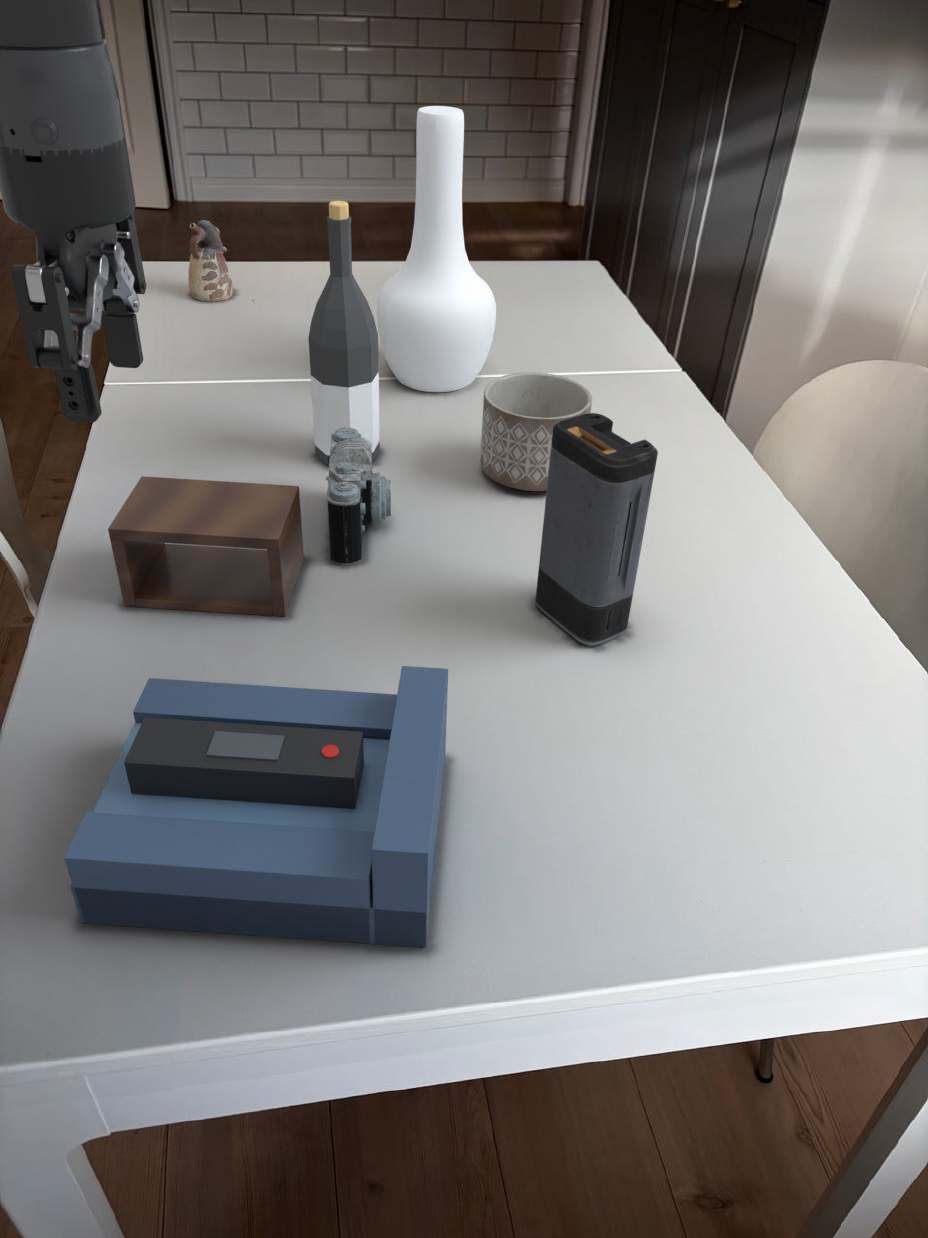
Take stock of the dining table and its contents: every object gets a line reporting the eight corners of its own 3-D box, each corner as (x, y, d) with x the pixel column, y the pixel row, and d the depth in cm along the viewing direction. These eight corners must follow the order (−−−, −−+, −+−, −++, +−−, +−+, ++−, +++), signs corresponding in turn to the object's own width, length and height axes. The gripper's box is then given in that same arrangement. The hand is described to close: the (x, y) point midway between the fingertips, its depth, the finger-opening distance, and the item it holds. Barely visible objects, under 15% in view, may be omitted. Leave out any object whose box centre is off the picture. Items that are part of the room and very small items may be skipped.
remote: (131, 794, 70) (122, 760, 68) (150, 748, 74) (143, 715, 72) (355, 809, 70) (353, 776, 68) (364, 762, 74) (363, 730, 72)
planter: (462, 482, 119) (466, 402, 113) (504, 440, 129) (509, 364, 122) (560, 509, 115) (569, 427, 109) (596, 463, 125) (606, 385, 118)
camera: (391, 565, 105) (391, 482, 99) (327, 565, 104) (322, 482, 98) (390, 494, 117) (389, 416, 110) (332, 494, 116) (328, 415, 110)
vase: (500, 360, 149) (516, 102, 128) (482, 406, 136) (497, 128, 115) (392, 348, 151) (390, 92, 130) (364, 393, 138) (357, 117, 117)
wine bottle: (318, 471, 120) (303, 214, 102) (312, 440, 126) (297, 193, 108) (384, 467, 122) (381, 212, 103) (375, 437, 128) (371, 192, 110)
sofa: (81, 923, 69) (50, 827, 63) (159, 740, 83) (140, 648, 77) (426, 948, 68) (428, 853, 62) (445, 760, 82) (448, 668, 76)
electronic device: (633, 632, 97) (667, 449, 85) (587, 652, 94) (614, 466, 82) (573, 585, 103) (596, 407, 91) (528, 602, 100) (545, 422, 88)
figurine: (242, 295, 167) (234, 221, 160) (206, 304, 163) (197, 229, 156) (217, 284, 171) (209, 211, 164) (181, 293, 167) (171, 219, 159)
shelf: (124, 606, 97) (107, 528, 92) (155, 550, 105) (141, 476, 100) (285, 616, 97) (278, 539, 92) (304, 559, 105) (299, 485, 100)
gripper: (41, 102, 63) (89, 347, 73) (-67, 154, 52) (7, 436, 61) (158, 109, 63) (190, 353, 73) (75, 162, 51) (127, 443, 61)
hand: (106, 391), depth 67 cm, fingers open, 8 cm apart
